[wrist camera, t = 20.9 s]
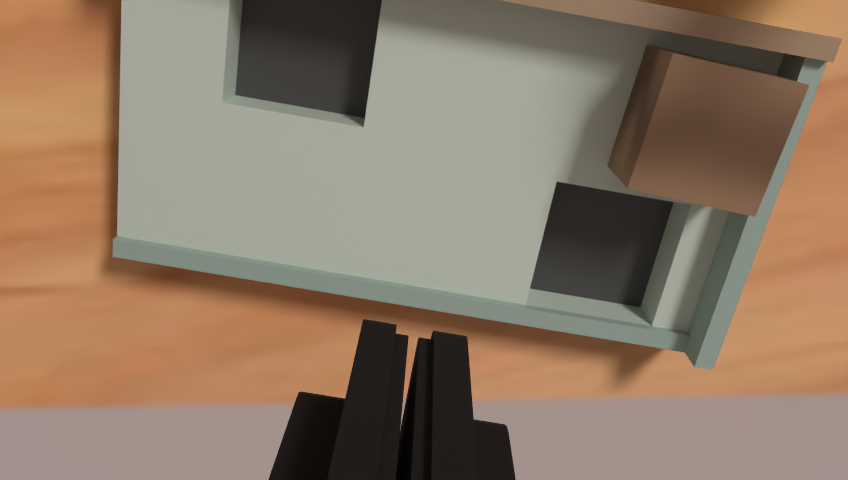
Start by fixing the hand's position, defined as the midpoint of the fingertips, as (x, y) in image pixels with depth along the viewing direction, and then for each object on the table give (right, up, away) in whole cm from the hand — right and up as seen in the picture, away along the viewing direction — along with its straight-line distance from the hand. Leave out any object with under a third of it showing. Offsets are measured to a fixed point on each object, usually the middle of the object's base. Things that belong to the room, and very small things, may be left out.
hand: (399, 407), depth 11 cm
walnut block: (+13, +8, +23) cm, 28 cm away
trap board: (+1, +8, +26) cm, 27 cm away
